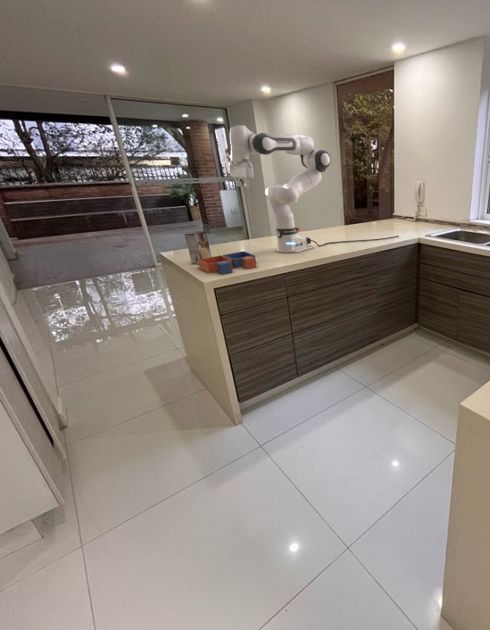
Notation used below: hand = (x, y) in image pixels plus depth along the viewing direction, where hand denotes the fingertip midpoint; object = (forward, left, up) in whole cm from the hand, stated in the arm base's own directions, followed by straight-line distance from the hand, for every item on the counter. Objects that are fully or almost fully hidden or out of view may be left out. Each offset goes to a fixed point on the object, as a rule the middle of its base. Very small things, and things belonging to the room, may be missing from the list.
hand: (242, 186), depth 183 cm
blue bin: (+12, +7, -39) cm, 41 cm away
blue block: (+25, +18, -39) cm, 49 cm away
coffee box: (+25, -12, -39) cm, 48 cm away
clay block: (+12, +18, -39) cm, 44 cm away
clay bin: (+25, +7, -39) cm, 47 cm away
